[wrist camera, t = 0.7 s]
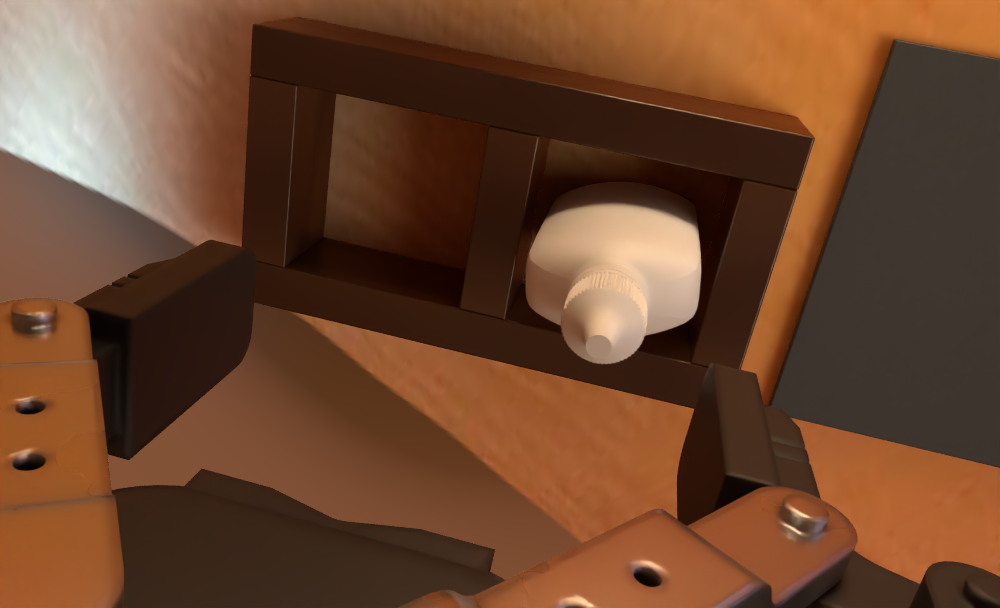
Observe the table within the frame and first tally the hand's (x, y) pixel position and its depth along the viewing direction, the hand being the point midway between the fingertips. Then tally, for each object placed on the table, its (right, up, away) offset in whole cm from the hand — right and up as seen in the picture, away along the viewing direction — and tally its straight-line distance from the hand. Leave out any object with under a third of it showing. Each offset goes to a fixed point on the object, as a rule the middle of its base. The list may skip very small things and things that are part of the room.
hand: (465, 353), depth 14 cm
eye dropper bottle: (+6, +4, +19) cm, 20 cm away
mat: (+19, +2, +17) cm, 25 cm away
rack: (+1, +5, +19) cm, 20 cm away
